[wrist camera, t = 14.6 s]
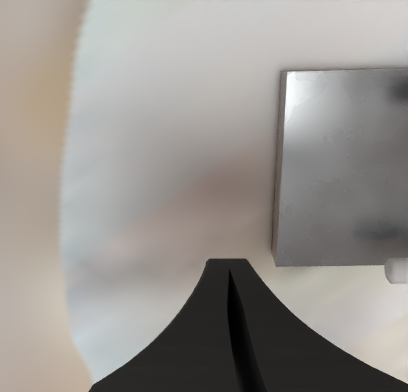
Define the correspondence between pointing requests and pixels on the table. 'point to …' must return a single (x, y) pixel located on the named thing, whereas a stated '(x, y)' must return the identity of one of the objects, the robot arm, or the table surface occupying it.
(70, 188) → the table surface
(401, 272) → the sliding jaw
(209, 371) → the robot arm
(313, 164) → the base
